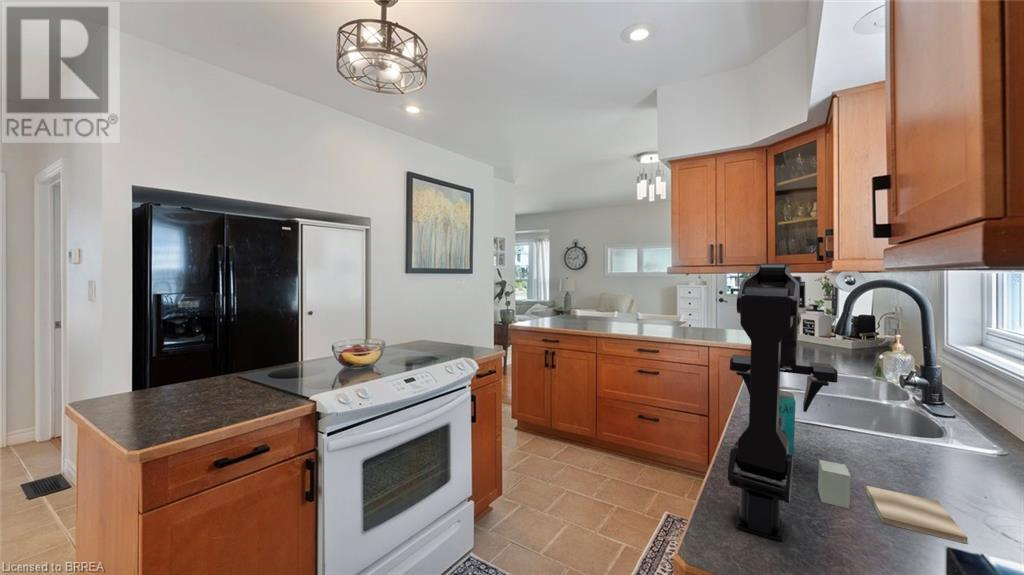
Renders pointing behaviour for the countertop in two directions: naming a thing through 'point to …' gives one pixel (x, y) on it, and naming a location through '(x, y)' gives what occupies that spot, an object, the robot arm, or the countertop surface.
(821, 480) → the block
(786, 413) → the beverage can
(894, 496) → the board
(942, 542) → the countertop surface
